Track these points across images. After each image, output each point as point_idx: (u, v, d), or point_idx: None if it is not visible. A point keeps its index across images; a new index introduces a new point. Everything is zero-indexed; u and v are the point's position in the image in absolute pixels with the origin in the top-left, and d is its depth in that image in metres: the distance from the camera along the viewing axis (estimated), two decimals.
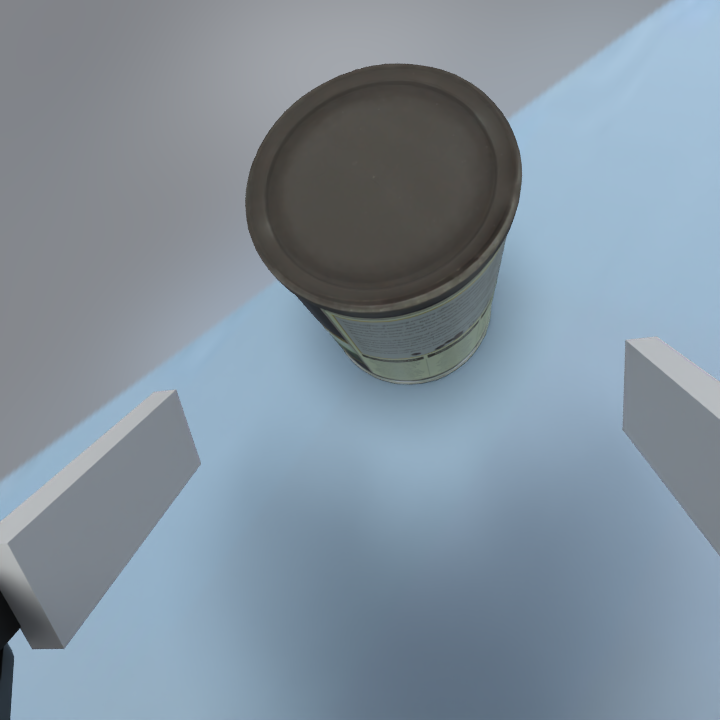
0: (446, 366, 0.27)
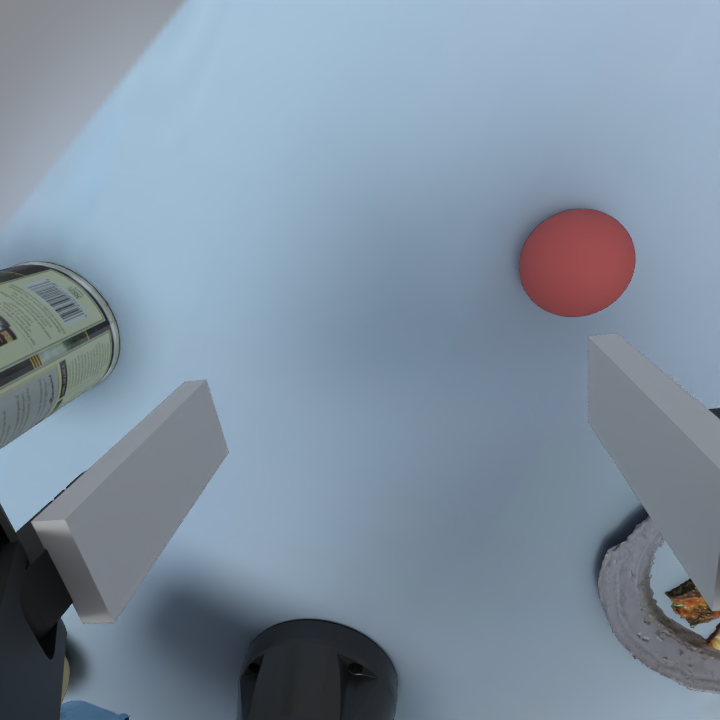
0: None
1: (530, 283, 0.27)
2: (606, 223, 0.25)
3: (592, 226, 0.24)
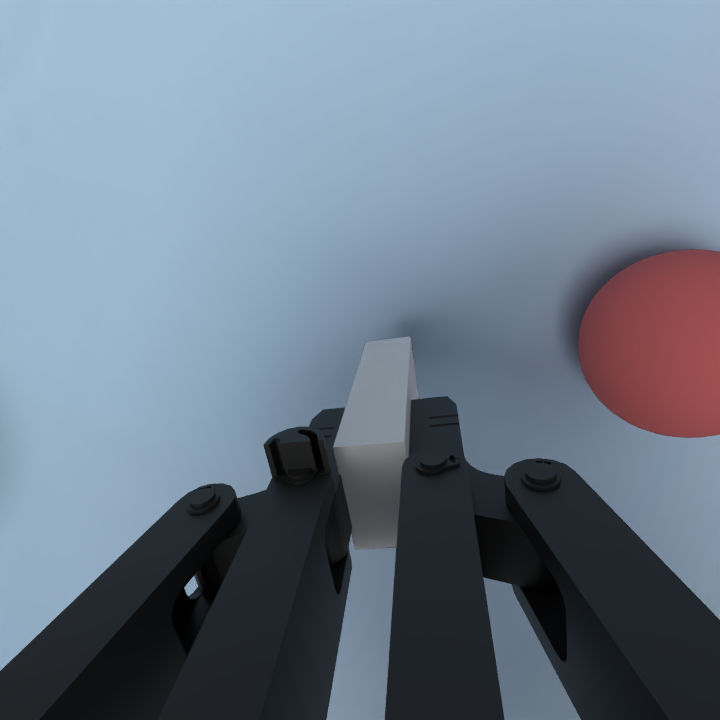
0: None
1: (605, 381, 0.15)
2: None
3: None
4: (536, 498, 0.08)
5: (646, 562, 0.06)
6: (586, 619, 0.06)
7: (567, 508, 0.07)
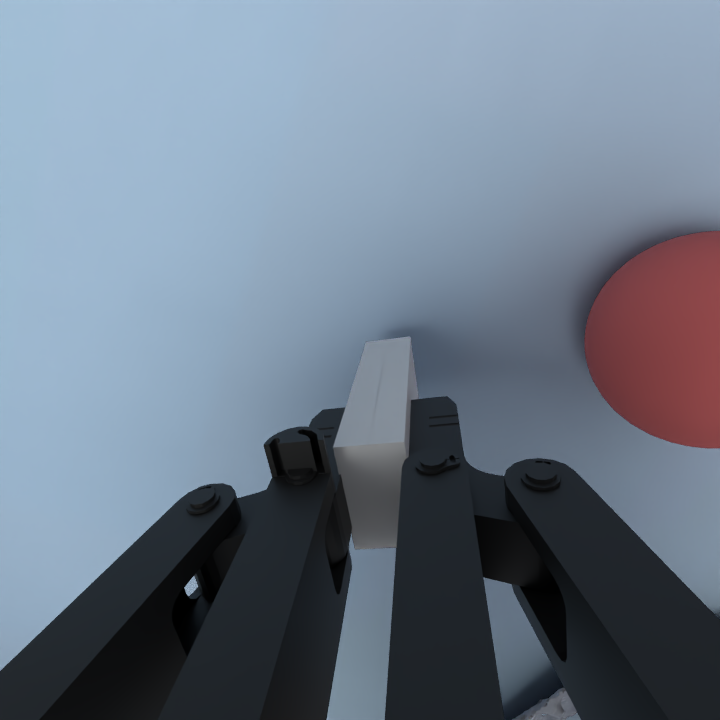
0: None
1: None
2: (622, 266, 0.14)
3: None
4: (536, 498, 0.08)
5: (646, 562, 0.06)
6: (586, 620, 0.06)
7: (567, 508, 0.07)
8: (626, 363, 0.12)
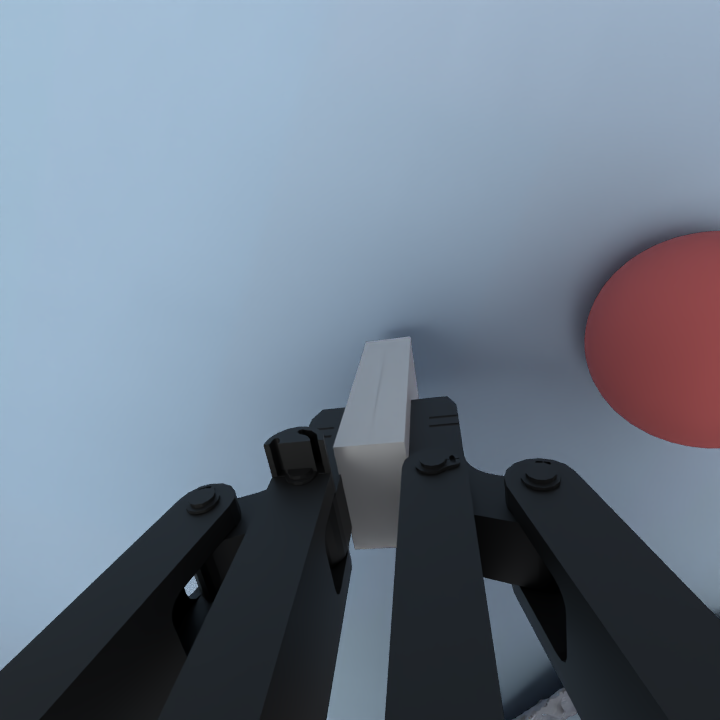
0: None
1: None
2: (622, 266, 0.14)
3: None
4: (536, 498, 0.08)
5: (646, 562, 0.06)
6: (586, 620, 0.06)
7: (567, 508, 0.07)
8: (626, 363, 0.12)
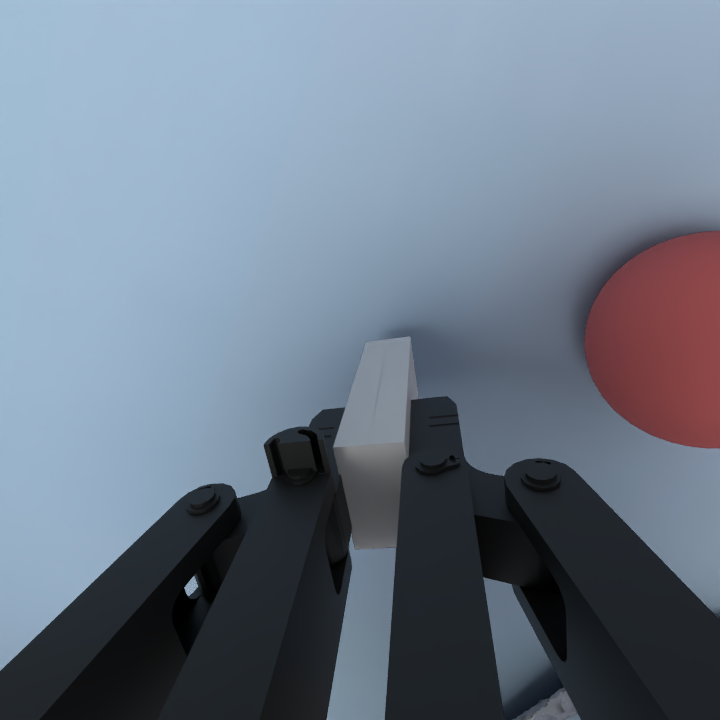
0: None
1: None
2: (622, 266, 0.14)
3: None
4: (536, 498, 0.08)
5: (646, 562, 0.06)
6: (586, 620, 0.06)
7: (567, 508, 0.07)
8: (626, 363, 0.12)
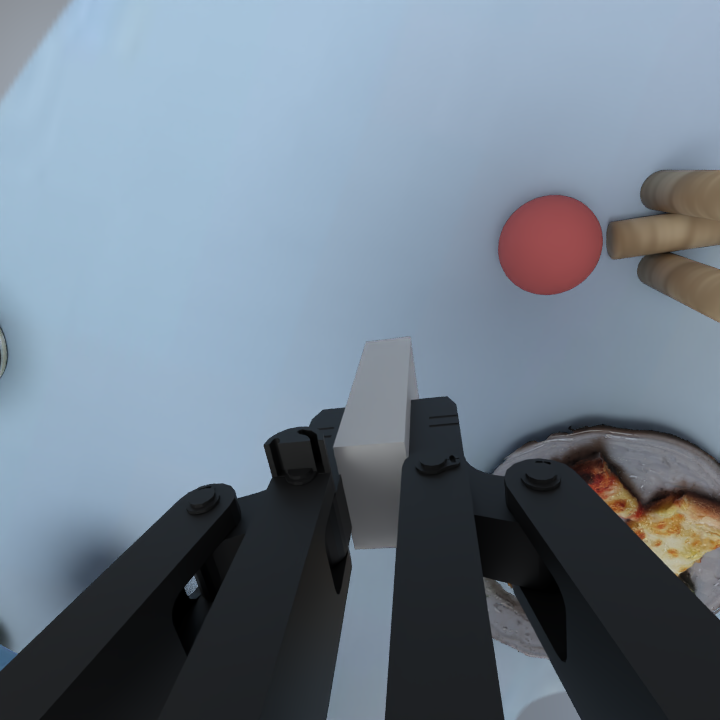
0: None
1: None
2: (514, 213, 0.30)
3: None
4: (536, 498, 0.08)
5: (646, 562, 0.06)
6: (586, 619, 0.06)
7: (567, 508, 0.07)
8: (509, 252, 0.29)
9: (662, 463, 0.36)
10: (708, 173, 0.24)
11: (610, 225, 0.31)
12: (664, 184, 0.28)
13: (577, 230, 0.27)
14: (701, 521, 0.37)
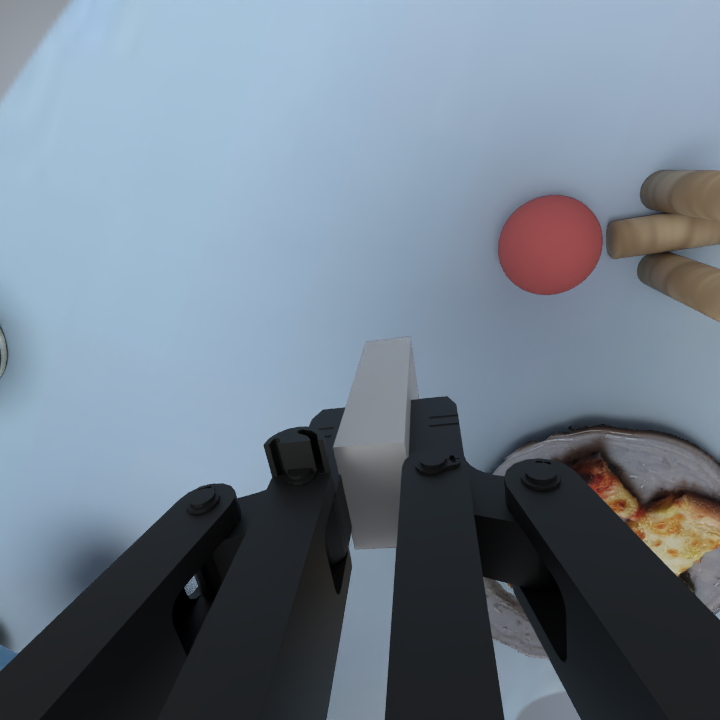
0: None
1: None
2: (514, 213, 0.30)
3: None
4: (536, 498, 0.08)
5: (646, 562, 0.06)
6: (586, 619, 0.06)
7: (567, 508, 0.07)
8: (509, 252, 0.29)
9: (662, 463, 0.36)
10: (707, 173, 0.24)
11: (610, 225, 0.31)
12: (664, 184, 0.28)
13: (577, 230, 0.27)
14: (701, 521, 0.37)
